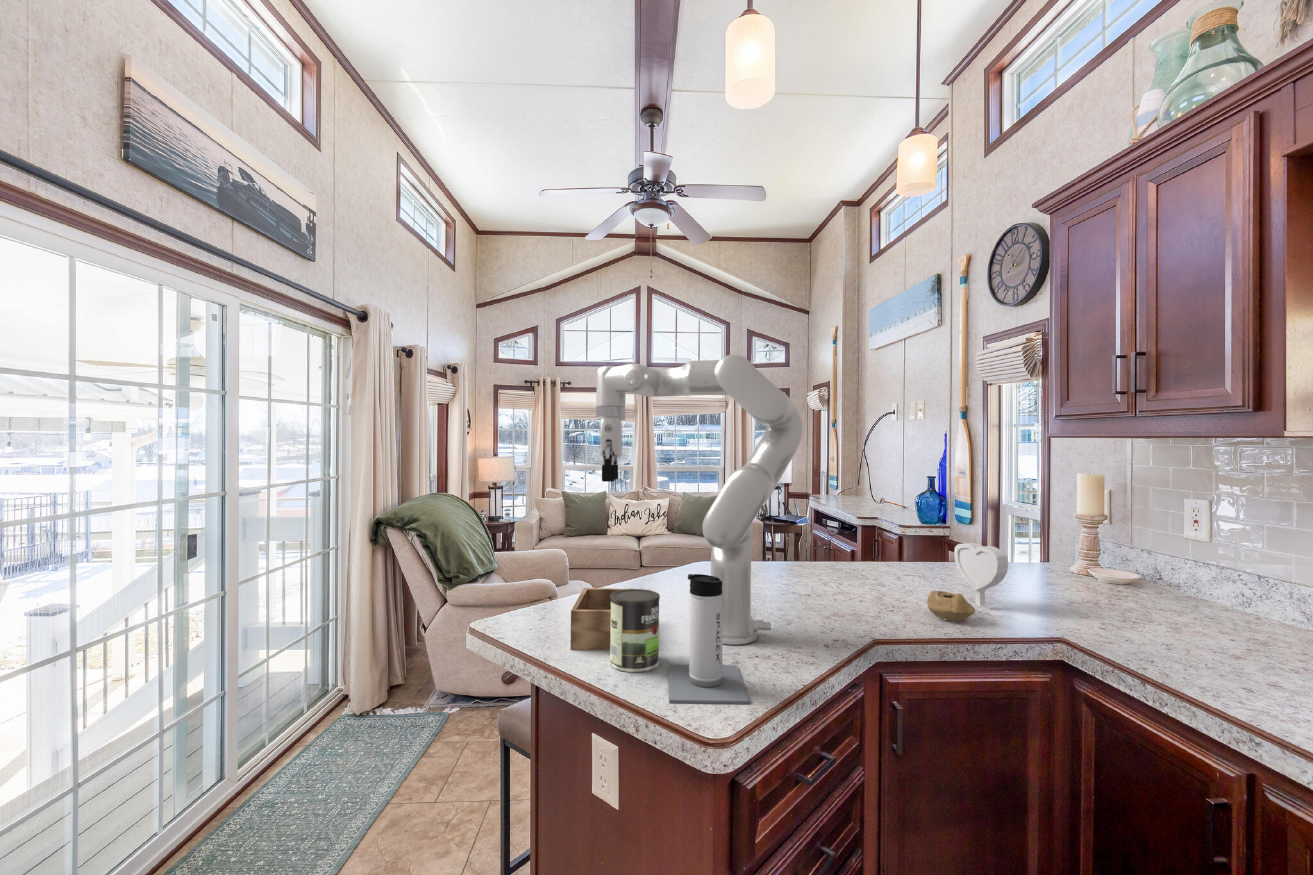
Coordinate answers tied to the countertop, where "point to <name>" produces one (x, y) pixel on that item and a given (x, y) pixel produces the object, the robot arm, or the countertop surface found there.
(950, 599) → the oil lamp
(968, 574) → the heart sculpture
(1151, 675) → the countertop surface
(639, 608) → the coffee can
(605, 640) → the crate
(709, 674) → the travel mug
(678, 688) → the mat
